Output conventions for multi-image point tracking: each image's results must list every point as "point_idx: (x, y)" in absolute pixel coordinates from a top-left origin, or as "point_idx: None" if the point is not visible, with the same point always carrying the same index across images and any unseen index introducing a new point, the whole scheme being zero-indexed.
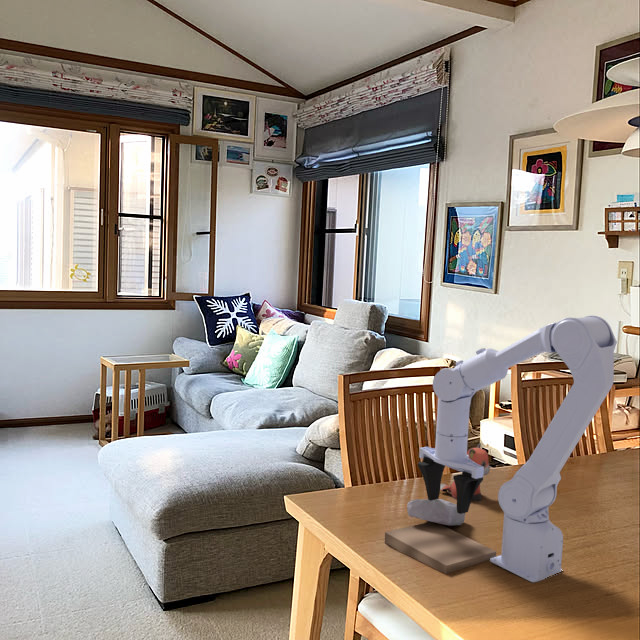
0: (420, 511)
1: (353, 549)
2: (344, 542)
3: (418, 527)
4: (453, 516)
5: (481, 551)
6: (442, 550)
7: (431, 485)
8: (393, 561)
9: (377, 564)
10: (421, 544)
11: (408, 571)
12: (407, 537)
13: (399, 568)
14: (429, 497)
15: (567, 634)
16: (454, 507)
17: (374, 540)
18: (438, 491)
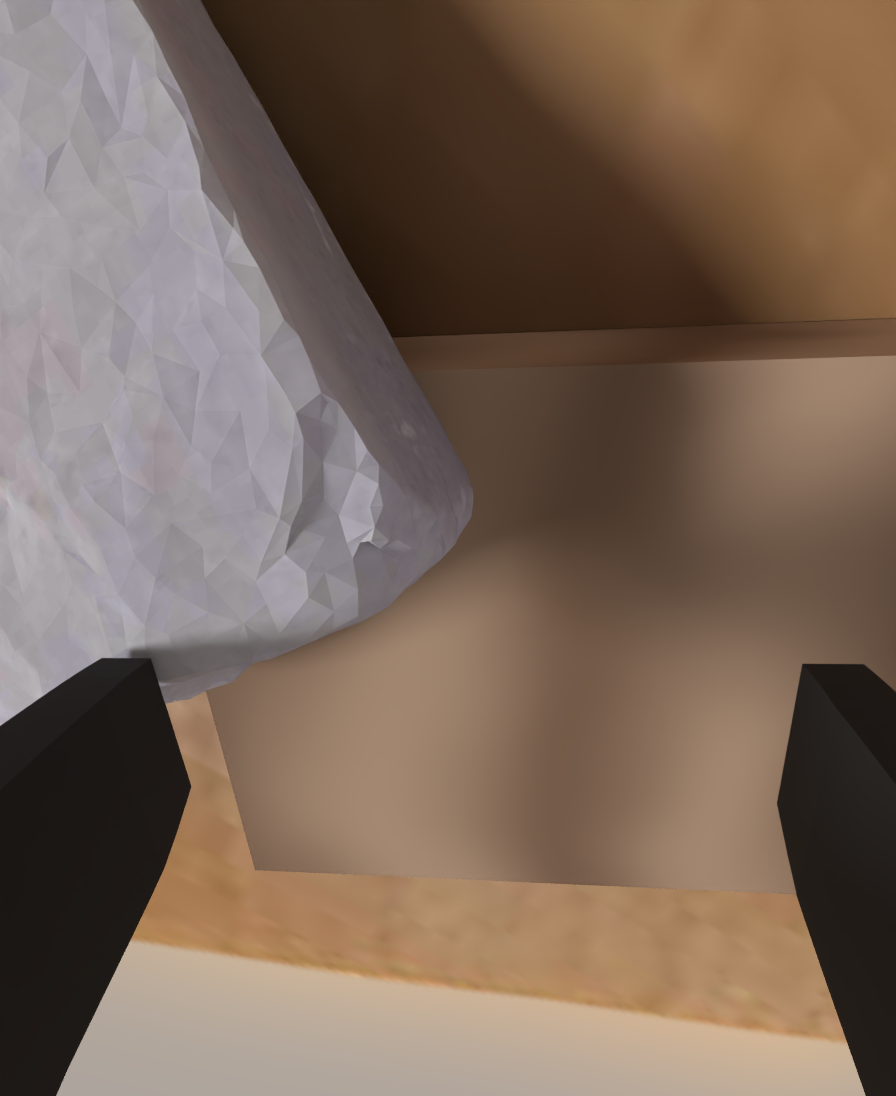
0: None
1: (305, 963)
2: (197, 949)
3: None
4: (425, 449)
5: None
6: (763, 766)
7: (52, 994)
8: (551, 908)
9: (538, 979)
10: (572, 814)
11: (713, 923)
12: (405, 812)
13: (649, 934)
14: (166, 835)
15: None
16: (393, 487)
17: (219, 825)
18: (84, 749)
